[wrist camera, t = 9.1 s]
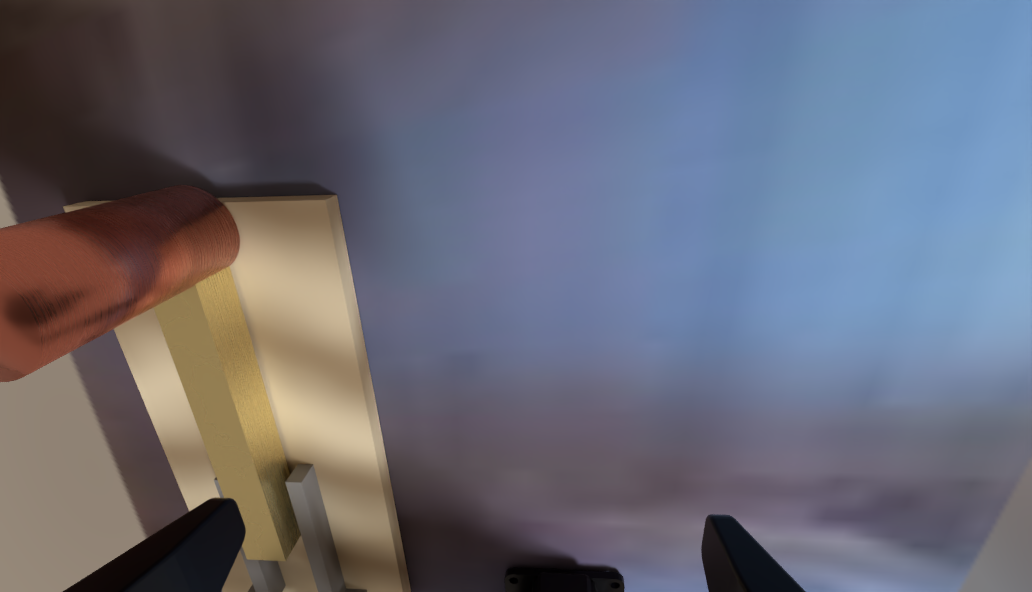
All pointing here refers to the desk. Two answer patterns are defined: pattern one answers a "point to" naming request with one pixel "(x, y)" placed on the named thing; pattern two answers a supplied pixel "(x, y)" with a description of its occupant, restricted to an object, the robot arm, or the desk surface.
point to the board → (292, 400)
